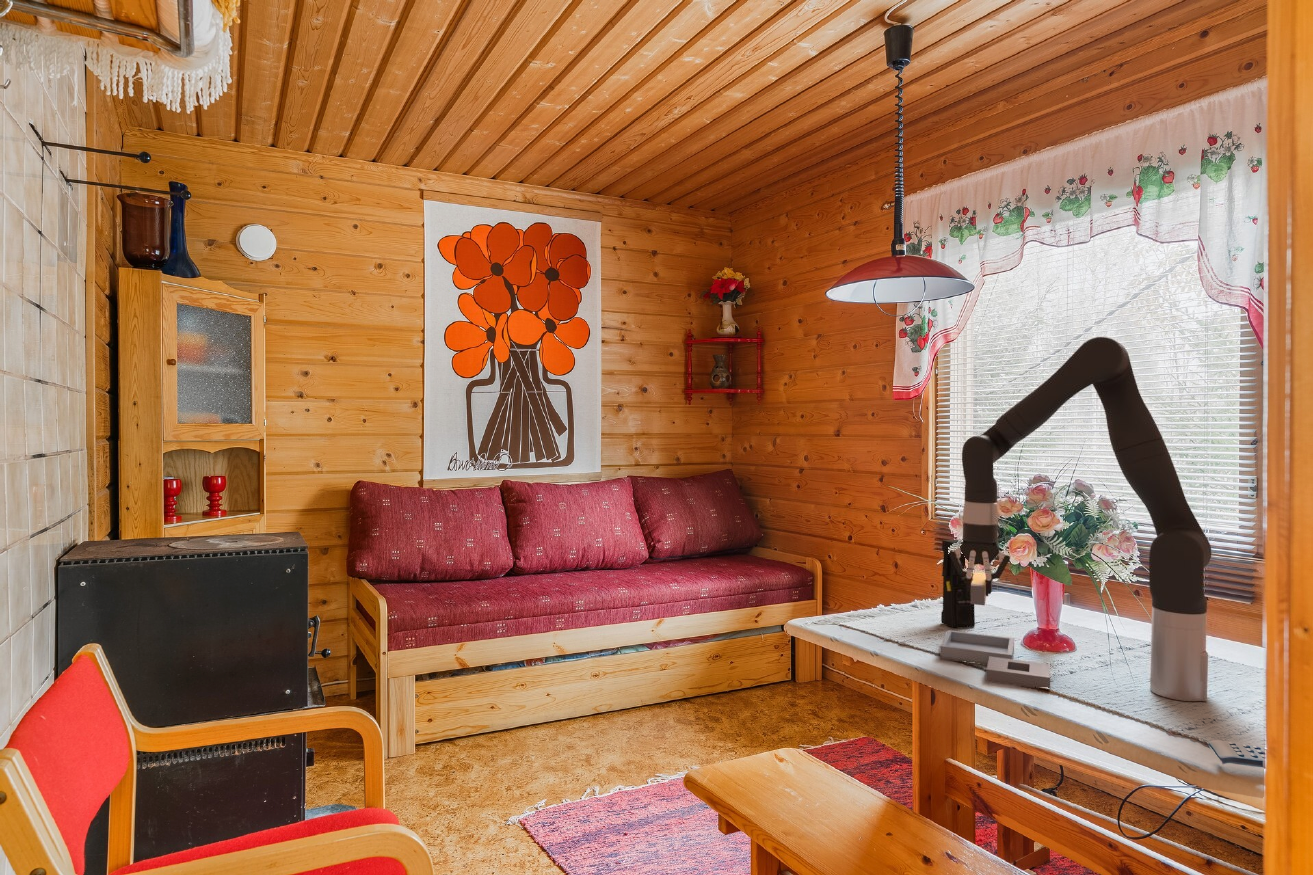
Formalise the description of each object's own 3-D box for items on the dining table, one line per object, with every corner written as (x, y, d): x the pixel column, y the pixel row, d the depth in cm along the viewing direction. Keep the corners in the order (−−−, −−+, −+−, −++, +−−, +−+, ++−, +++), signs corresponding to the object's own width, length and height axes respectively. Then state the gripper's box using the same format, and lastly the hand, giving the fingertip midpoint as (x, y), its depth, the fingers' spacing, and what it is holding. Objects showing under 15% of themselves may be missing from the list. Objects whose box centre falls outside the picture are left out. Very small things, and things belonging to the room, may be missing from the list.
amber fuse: (987, 573, 189) (984, 586, 181) (987, 591, 190) (984, 605, 182) (973, 572, 190) (970, 585, 182) (973, 590, 191) (970, 603, 183)
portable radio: (950, 629, 207) (952, 534, 207) (936, 623, 213) (938, 530, 212) (976, 627, 209) (978, 533, 209) (962, 621, 215) (963, 529, 215)
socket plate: (1049, 675, 171) (1049, 663, 171) (1049, 689, 162) (1050, 677, 162) (989, 667, 176) (989, 656, 176) (986, 680, 167) (986, 669, 167)
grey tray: (1014, 650, 189) (1014, 637, 189) (1011, 668, 176) (1011, 654, 176) (947, 642, 196) (947, 630, 196) (940, 658, 182) (940, 646, 182)
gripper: (1013, 521, 185) (1012, 594, 186) (950, 517, 191) (948, 588, 192) (1012, 525, 178) (1010, 601, 179) (946, 521, 185) (945, 594, 185)
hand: (978, 594), depth 185 cm, fingers closed on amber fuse, 2 cm apart
